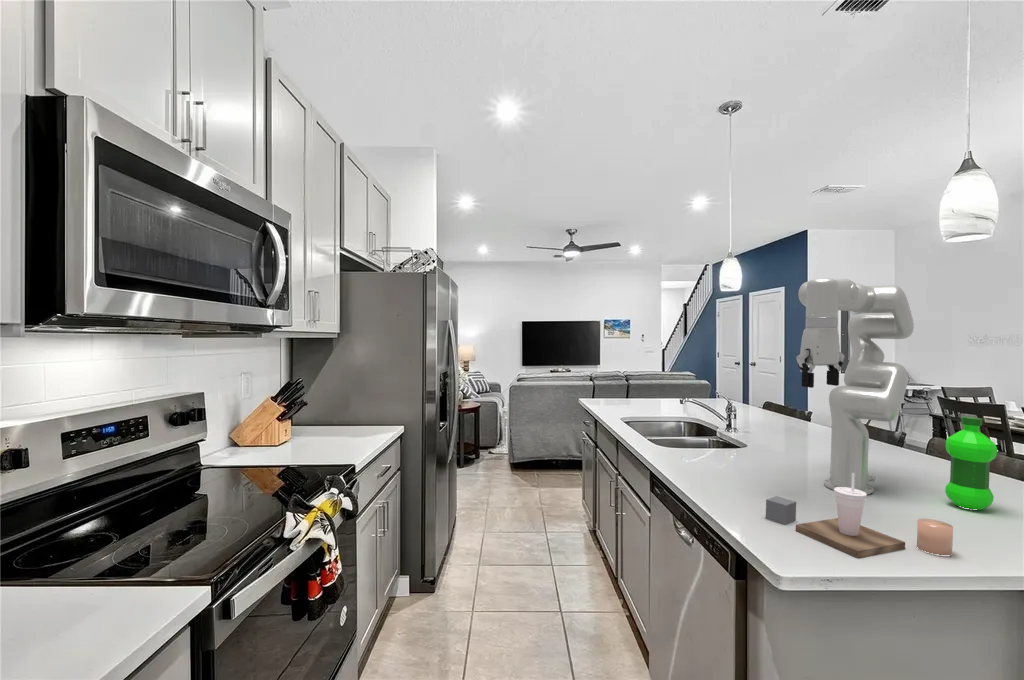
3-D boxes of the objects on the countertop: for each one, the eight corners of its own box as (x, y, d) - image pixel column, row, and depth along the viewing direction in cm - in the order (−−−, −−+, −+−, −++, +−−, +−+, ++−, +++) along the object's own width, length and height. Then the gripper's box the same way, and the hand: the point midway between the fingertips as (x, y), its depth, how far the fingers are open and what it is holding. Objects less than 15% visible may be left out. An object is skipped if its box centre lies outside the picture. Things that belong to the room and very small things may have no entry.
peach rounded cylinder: (927, 543, 113) (928, 517, 113) (958, 554, 108) (959, 527, 108) (910, 546, 111) (911, 520, 111) (940, 558, 106) (941, 530, 106)
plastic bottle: (944, 498, 145) (948, 413, 144) (995, 508, 137) (998, 418, 137) (941, 506, 138) (944, 417, 137) (994, 517, 130) (998, 423, 130)
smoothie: (855, 540, 110) (857, 478, 110) (826, 529, 116) (828, 470, 116) (871, 535, 113) (873, 474, 113) (842, 525, 119) (844, 467, 119)
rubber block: (776, 515, 130) (776, 496, 129) (795, 521, 125) (796, 501, 125) (765, 518, 127) (766, 499, 127) (785, 525, 123) (786, 505, 122)
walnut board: (840, 523, 124) (840, 517, 124) (905, 548, 110) (905, 542, 110) (795, 530, 119) (795, 524, 119) (857, 558, 105) (857, 551, 105)
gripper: (830, 323, 143) (829, 382, 143) (786, 324, 136) (785, 386, 137) (856, 324, 136) (855, 386, 136) (811, 324, 129) (810, 389, 130)
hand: (820, 386), depth 137 cm, fingers open, 9 cm apart
